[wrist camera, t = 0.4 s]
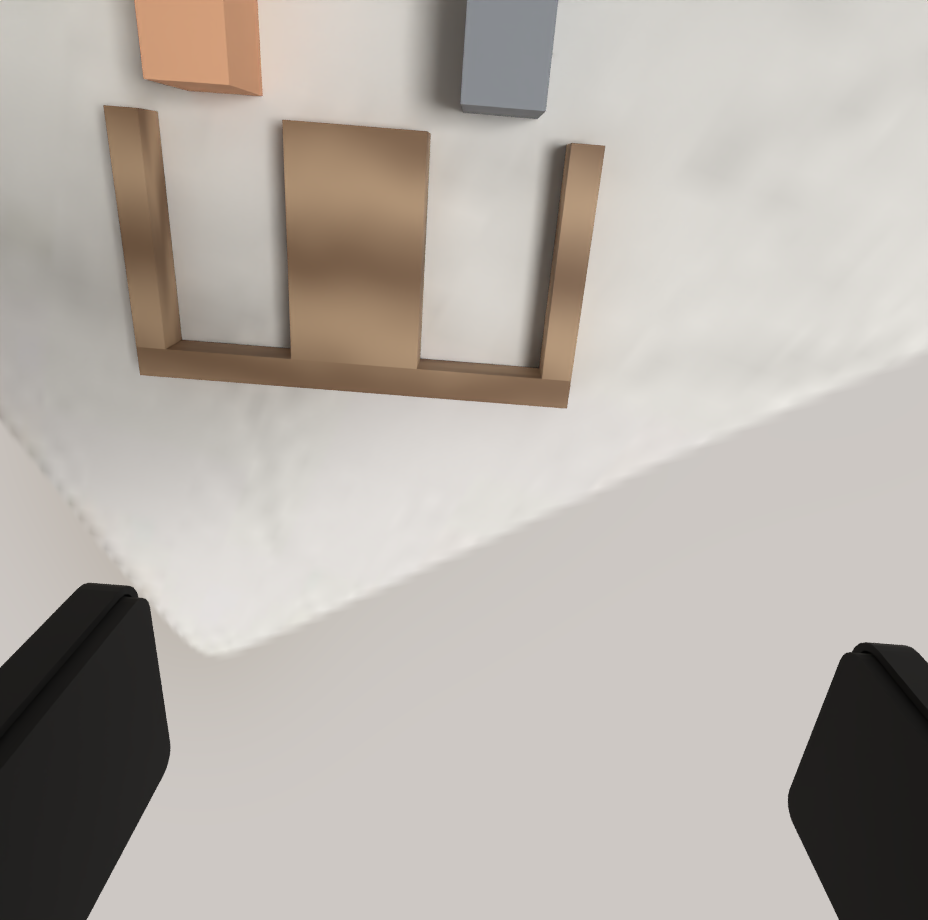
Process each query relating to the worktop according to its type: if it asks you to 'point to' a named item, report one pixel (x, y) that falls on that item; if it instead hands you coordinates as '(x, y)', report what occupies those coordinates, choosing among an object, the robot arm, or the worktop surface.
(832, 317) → the worktop surface
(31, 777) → the robot arm
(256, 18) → the terracotta stub
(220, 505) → the worktop surface
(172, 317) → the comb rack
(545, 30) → the grey stub
